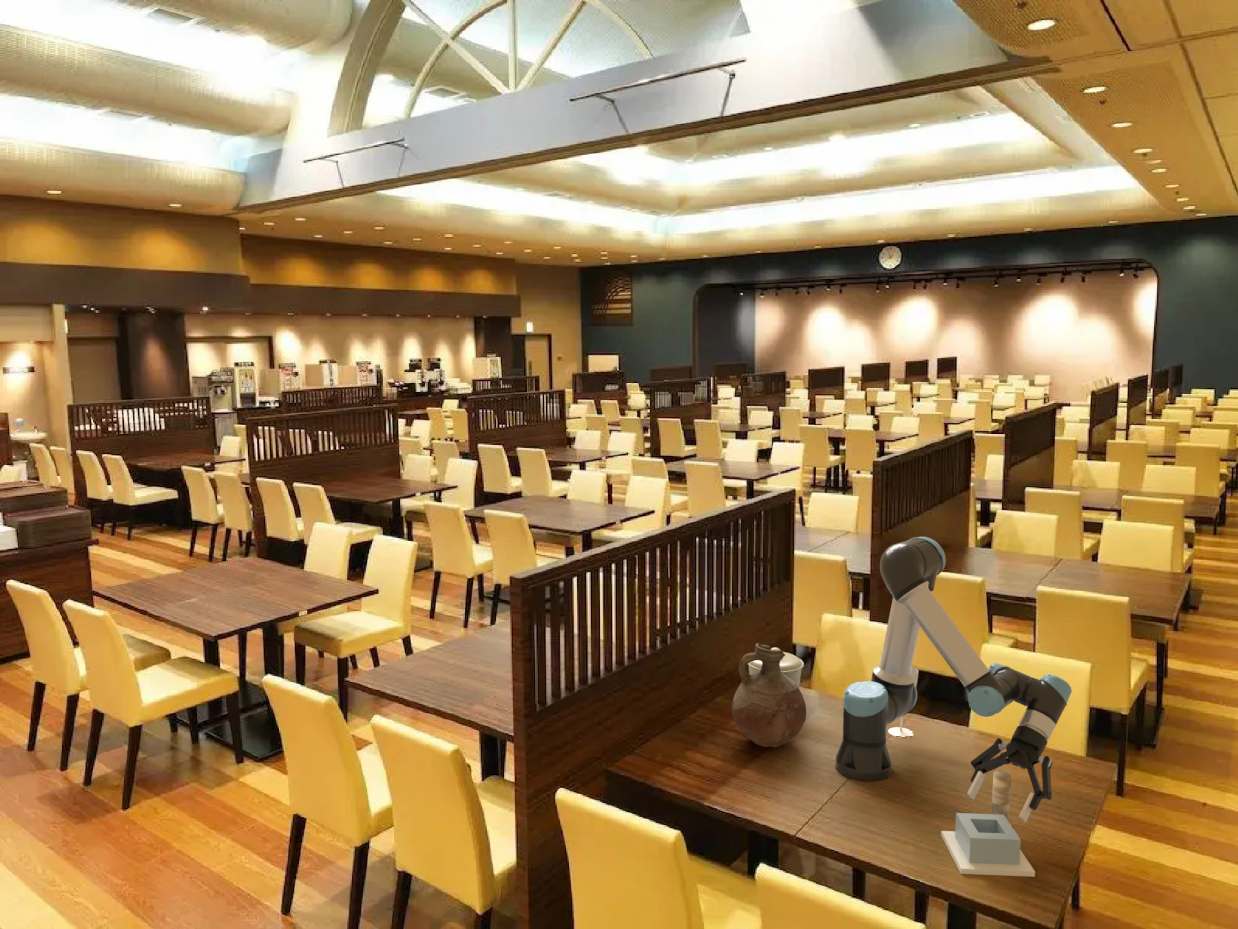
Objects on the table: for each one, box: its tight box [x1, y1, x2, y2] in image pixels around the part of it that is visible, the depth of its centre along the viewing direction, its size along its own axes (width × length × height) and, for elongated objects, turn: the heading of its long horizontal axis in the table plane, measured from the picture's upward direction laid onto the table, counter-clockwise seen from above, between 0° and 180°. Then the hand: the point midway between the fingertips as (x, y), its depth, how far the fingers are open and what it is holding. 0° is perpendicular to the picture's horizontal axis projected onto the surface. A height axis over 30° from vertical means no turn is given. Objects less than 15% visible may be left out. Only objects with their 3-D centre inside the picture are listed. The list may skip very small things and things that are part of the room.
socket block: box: [940, 812, 1036, 877], centre depth 209 cm, size 16×16×7 cm
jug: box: [731, 642, 807, 748], centre depth 267 cm, size 22×22×30 cm
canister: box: [747, 646, 805, 687], centre depth 291 cm, size 18×18×21 cm
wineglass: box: [887, 666, 919, 738], centre depth 275 cm, size 8×9×20 cm
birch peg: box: [990, 770, 1012, 823], centre depth 220 cm, size 4×4×14 cm
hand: (995, 808), depth 218 cm, fingers open, 13 cm apart
